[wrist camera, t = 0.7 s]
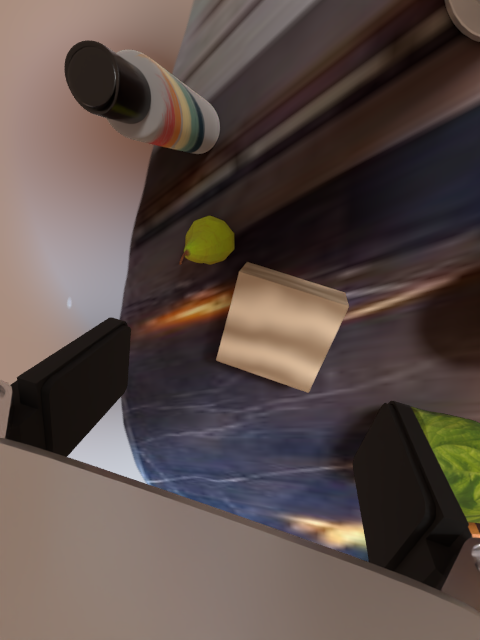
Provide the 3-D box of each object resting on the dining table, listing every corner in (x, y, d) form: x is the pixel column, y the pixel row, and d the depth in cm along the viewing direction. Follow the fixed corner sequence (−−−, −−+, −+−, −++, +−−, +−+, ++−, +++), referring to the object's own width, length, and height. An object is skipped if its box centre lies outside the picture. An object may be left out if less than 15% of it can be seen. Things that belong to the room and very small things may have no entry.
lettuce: (520, 483, 47) (590, 583, 35) (364, 450, 51) (380, 531, 39) (568, 414, 41) (672, 508, 29) (386, 383, 45) (413, 455, 33)
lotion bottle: (169, 139, 37) (40, 102, 20) (186, 89, 35) (55, -7, 17) (209, 163, 37) (116, 147, 20) (229, 114, 35) (142, 45, 17)
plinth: (247, 261, 42) (239, 271, 37) (345, 292, 40) (348, 306, 36) (224, 343, 48) (216, 360, 44) (308, 372, 47) (308, 392, 42)
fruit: (238, 212, 39) (210, 224, 29) (240, 259, 42) (215, 286, 31) (192, 213, 41) (149, 225, 30) (196, 259, 43) (159, 284, 32)
